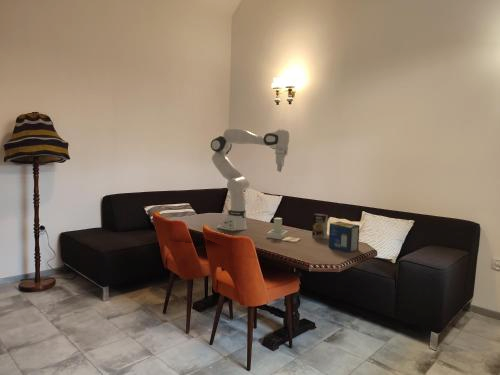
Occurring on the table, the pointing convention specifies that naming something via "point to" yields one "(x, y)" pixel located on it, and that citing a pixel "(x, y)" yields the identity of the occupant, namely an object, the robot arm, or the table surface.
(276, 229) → the green block
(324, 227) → the coffee box
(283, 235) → the bin
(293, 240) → the pad
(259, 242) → the table surface
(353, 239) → the protein box
